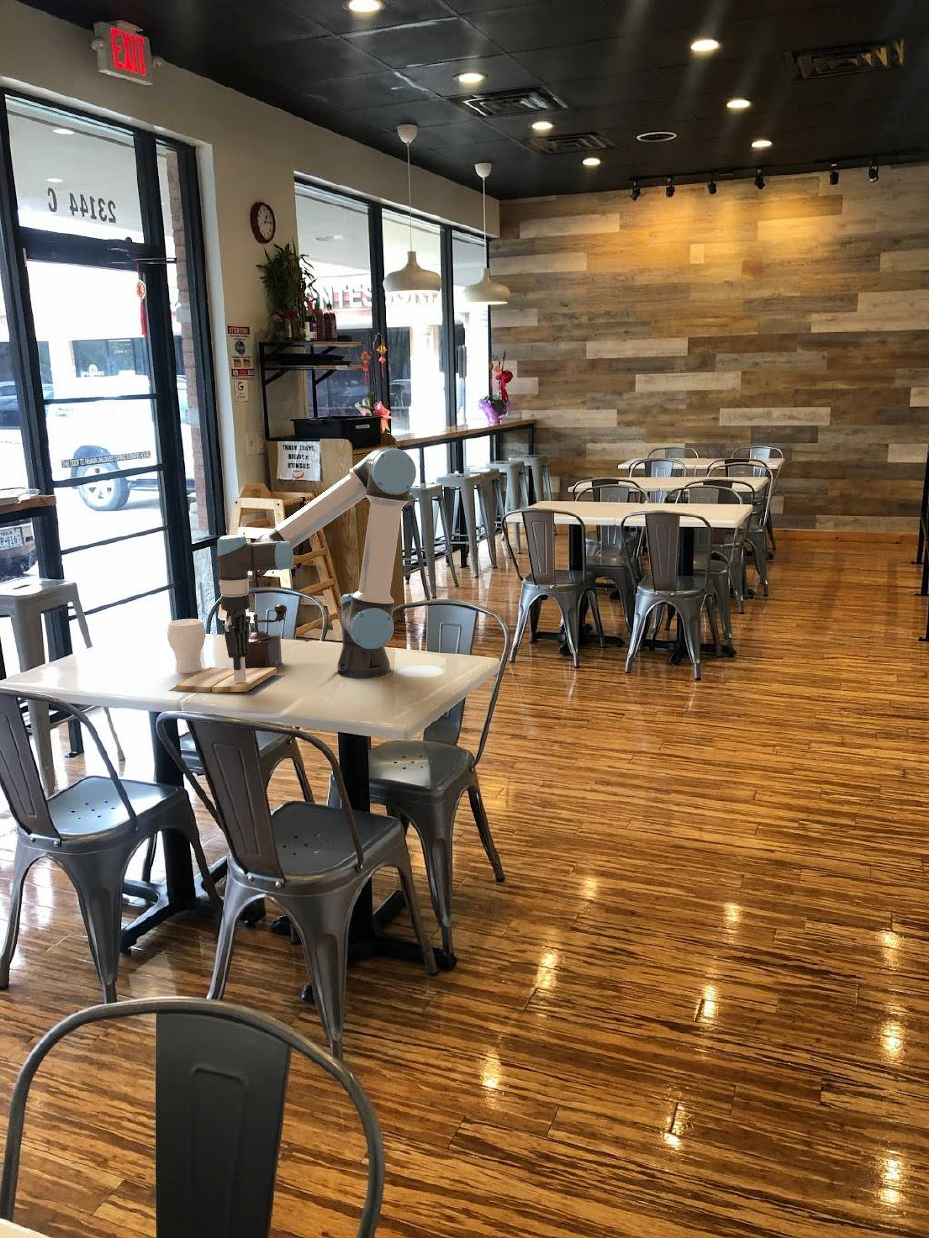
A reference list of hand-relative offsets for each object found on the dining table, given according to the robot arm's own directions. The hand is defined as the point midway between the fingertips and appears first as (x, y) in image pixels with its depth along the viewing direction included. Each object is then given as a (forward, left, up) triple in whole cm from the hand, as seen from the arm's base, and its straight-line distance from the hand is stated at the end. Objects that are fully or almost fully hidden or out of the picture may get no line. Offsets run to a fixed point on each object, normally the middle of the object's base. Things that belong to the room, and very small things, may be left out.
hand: (240, 680), depth 281 cm
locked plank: (+12, -6, -3) cm, 14 cm away
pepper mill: (+6, -28, -4) cm, 29 cm away
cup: (+25, -18, -4) cm, 31 cm away
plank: (+1, -6, -2) cm, 6 cm away
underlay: (+7, -6, -4) cm, 10 cm away
